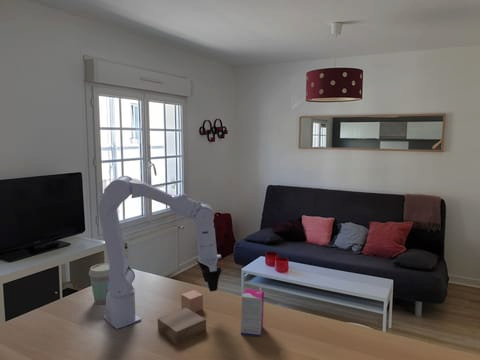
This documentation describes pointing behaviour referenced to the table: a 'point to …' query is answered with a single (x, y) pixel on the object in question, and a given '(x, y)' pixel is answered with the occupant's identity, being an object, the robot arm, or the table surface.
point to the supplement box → (252, 312)
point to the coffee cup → (99, 282)
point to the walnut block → (181, 325)
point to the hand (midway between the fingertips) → (210, 285)
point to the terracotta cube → (192, 300)
